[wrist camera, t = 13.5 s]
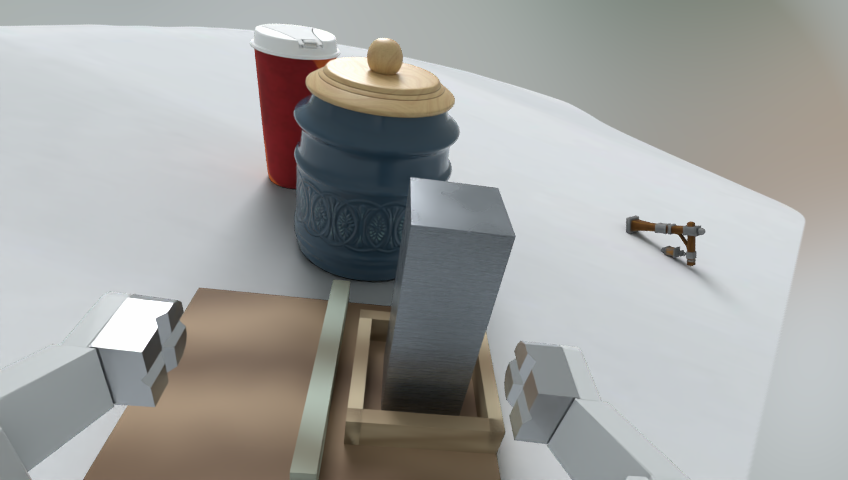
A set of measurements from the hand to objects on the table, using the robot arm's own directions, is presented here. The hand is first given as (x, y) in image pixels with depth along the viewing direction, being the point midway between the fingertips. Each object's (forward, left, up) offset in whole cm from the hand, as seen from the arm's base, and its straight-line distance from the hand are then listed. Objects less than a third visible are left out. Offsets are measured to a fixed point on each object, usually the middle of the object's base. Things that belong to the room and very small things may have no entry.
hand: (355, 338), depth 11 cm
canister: (+13, +24, -16) cm, 32 cm away
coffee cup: (+11, +38, -16) cm, 43 cm away
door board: (+4, +10, -16) cm, 19 cm away
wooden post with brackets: (+43, +13, -16) cm, 48 cm away
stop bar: (+9, +7, -15) cm, 18 cm away
